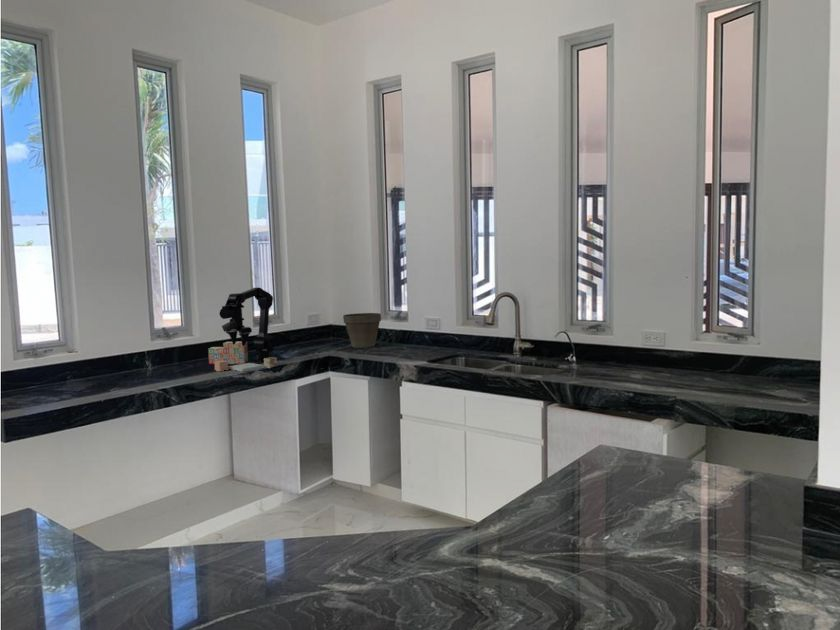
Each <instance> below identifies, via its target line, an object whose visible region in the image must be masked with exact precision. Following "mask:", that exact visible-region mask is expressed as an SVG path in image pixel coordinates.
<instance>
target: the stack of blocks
mask: <svg viewBox="0 0 840 630" xmlns="http://www.w3.org/2000/svg"><path fill="white" fill-rule="evenodd" d="M222 345H223V346H212V347H210V348H208V349H207V350H208V351H207V353H208V365H215V363H214V362H216V361H228V365H240V364H246V363H249V353H248V351H249V349H248V348H249V347H248V341H246V343H245V345H244V346H242V341H241V340H240V341H239V340H238V341H237V340H236V343H235V344H233V343H232V341H226V342H223V343H222Z"/></svg>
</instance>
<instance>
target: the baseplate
mask: <svg viewBox="0 0 840 630" xmlns="http://www.w3.org/2000/svg"><path fill="white" fill-rule="evenodd" d="M264 368H265V367H264V364H257V363H253V362H246V363H245V364H233V365H230V366H229V365H228V370H229V369H231V370H230V371H235V370H237V371H236V372H242V373H243V372H247V371H254V370H259V369H264Z"/></svg>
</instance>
